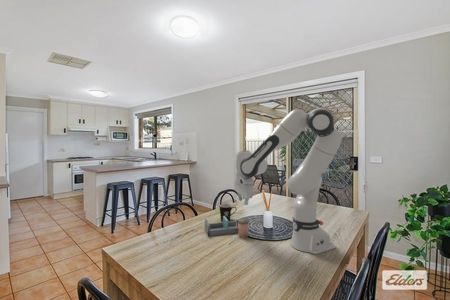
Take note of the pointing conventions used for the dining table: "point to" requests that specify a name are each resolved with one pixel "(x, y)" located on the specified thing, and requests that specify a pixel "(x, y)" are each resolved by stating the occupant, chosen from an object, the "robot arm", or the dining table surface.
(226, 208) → the coffee mug
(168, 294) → the dining table surface
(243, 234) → the jar
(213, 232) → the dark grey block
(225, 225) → the pusher
